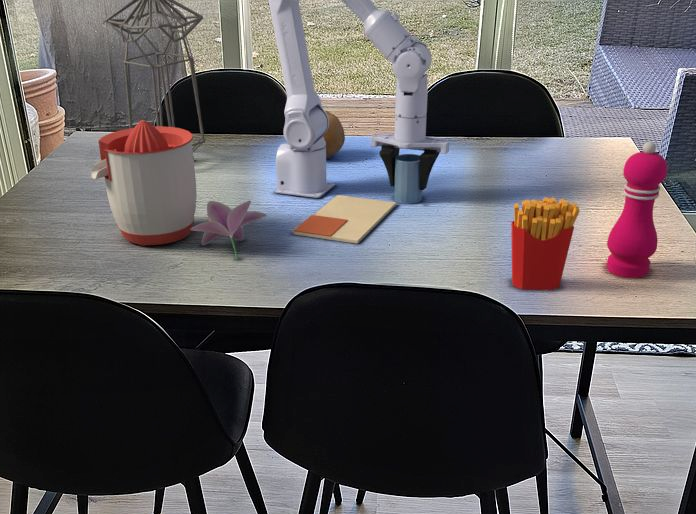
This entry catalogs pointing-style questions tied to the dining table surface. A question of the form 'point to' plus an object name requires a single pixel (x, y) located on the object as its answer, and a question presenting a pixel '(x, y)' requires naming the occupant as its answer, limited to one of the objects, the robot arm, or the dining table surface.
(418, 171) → the tumbler
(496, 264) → the dining table surface
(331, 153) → the onion
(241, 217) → the lily
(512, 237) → the french fries
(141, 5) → the geometric lantern
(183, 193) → the citrus juicer
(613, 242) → the pepper mill
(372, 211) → the cutting board
